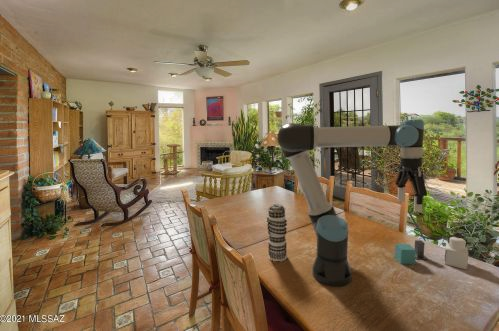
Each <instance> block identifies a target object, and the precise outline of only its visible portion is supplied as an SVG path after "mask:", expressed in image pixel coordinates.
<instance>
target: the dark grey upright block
mask: <svg viewBox="0 0 499 331" xmlns="http://www.w3.org/2000/svg"><path fill="white" fill-rule="evenodd" d="M414 249H415V250H416V252H415V260H426V261H427V260H429V258H428V257H427V256H425V242H424V241H423V240H420V239H419V240H418V239H417V240H414Z"/></svg>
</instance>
